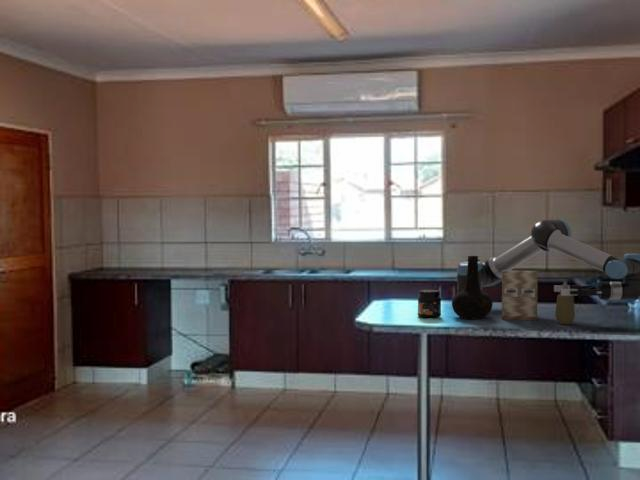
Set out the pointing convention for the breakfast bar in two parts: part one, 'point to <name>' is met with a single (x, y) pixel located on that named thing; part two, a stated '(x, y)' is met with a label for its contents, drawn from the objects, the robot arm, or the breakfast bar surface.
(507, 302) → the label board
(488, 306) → the glass bottle
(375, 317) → the breakfast bar surface
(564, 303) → the squeeze bottle
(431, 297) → the supplement container
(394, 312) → the breakfast bar surface
